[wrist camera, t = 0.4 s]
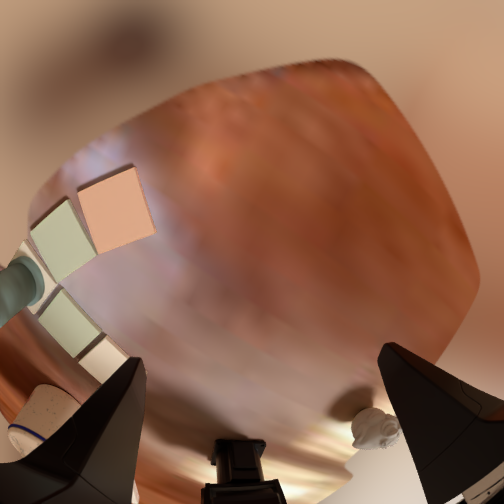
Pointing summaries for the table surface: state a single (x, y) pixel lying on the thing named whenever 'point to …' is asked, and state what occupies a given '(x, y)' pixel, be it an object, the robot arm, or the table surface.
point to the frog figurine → (375, 429)
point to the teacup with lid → (41, 417)
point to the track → (81, 251)
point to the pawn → (19, 287)
